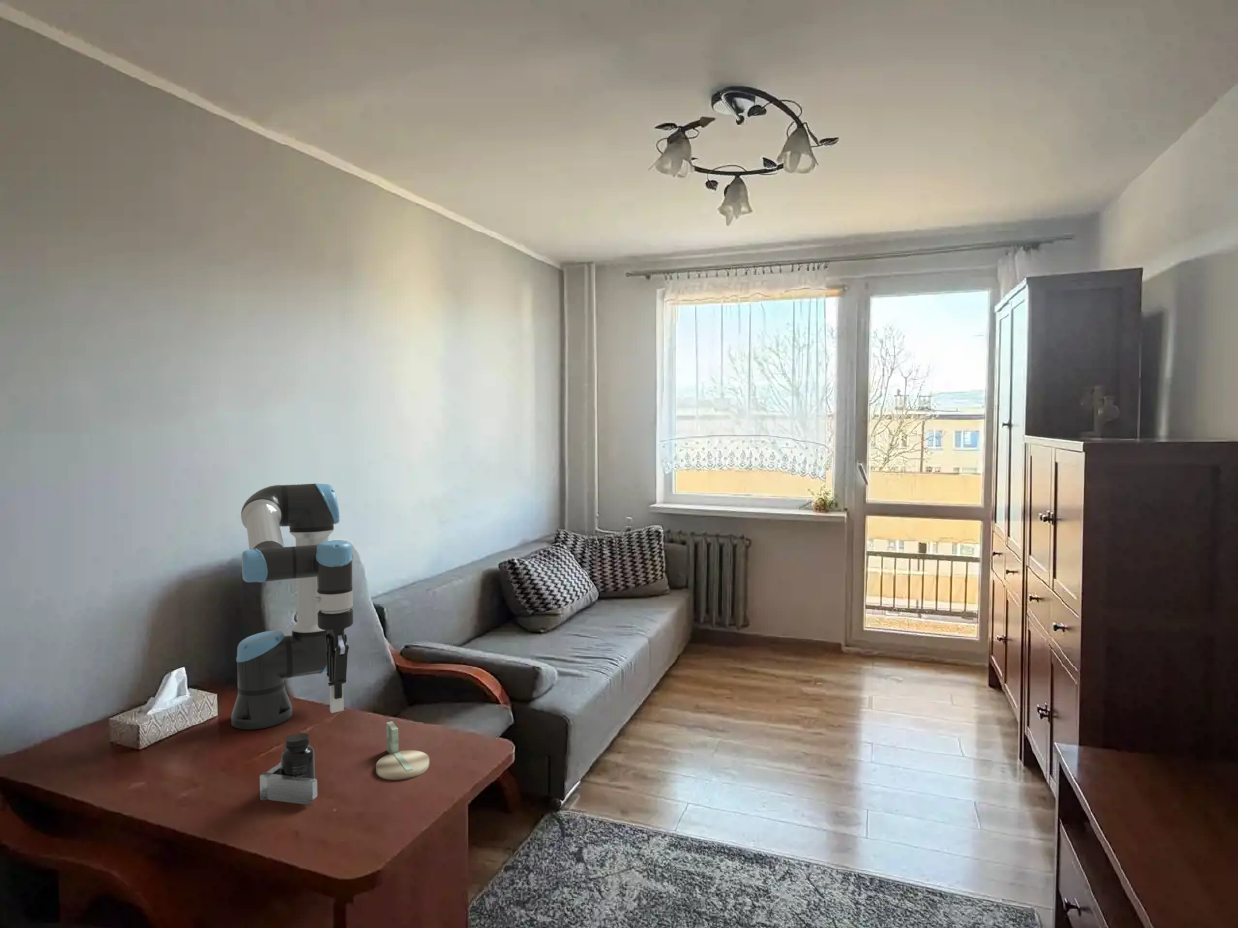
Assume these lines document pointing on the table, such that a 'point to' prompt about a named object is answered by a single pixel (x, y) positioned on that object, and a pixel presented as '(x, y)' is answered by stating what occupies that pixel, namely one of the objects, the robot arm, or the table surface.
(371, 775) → the table surface
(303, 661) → the robot arm
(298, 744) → the supplement bottle
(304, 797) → the vee block
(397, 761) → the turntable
